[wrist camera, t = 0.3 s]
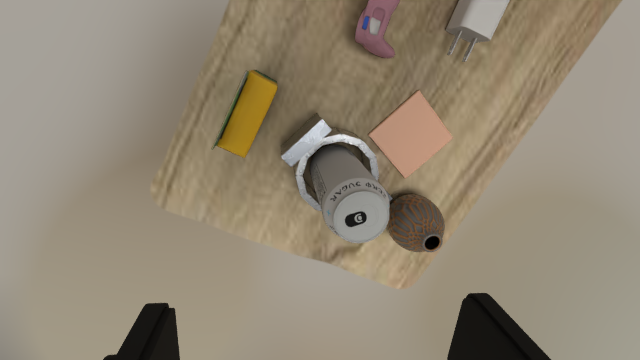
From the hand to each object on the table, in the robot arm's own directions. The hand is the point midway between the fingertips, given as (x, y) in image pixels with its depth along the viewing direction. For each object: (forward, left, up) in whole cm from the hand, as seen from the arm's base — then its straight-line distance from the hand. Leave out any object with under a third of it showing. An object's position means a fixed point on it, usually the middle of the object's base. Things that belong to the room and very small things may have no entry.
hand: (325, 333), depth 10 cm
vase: (-5, +18, -30) cm, 36 cm away
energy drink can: (-2, +6, -30) cm, 31 cm away
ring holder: (-2, +6, -30) cm, 31 cm away
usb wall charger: (-24, +4, -30) cm, 39 cm away
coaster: (-12, +10, -30) cm, 34 cm away
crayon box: (0, -6, -30) cm, 31 cm away
